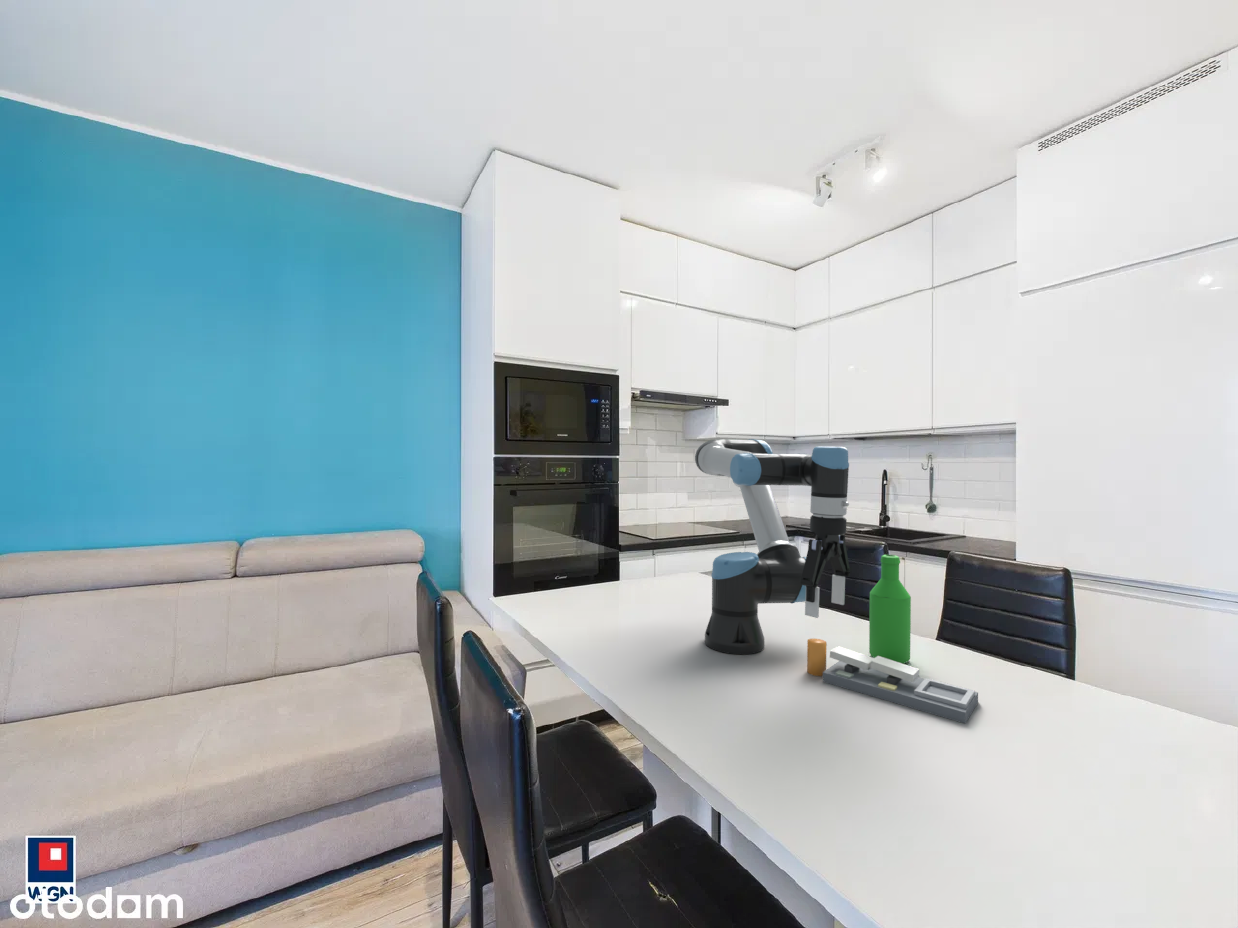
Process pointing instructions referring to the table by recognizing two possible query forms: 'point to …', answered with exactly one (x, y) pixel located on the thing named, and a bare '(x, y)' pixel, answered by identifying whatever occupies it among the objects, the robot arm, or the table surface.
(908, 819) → the table surface
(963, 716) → the panel
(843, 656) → the block
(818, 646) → the pin
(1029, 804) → the table surface
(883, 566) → the bottle
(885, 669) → the breaker
